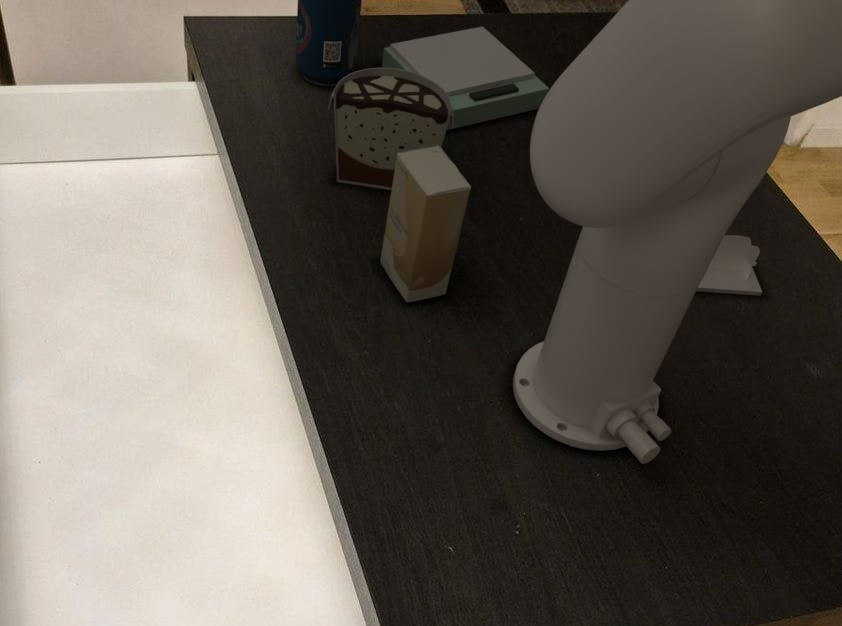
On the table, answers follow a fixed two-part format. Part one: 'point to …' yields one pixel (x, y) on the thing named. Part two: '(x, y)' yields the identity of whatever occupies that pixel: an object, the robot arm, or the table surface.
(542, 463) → the table surface
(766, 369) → the table surface
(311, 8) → the soda can
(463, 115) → the scale
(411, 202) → the cosmetic box
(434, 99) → the food container
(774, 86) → the robot arm
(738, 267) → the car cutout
